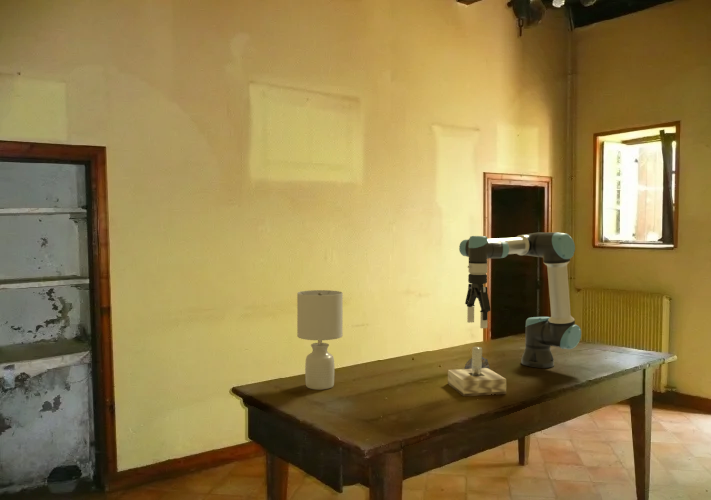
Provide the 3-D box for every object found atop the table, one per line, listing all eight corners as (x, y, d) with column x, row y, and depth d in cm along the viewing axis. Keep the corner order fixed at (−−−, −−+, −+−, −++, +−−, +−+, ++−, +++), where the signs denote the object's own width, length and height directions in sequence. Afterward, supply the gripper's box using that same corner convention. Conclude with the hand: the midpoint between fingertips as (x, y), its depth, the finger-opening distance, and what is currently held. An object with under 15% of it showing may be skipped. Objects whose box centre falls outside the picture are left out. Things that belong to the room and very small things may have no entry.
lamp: (307, 395, 227) (307, 296, 226) (290, 383, 244) (290, 291, 242) (350, 389, 236) (350, 294, 234) (330, 378, 253) (330, 289, 251)
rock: (491, 366, 263) (485, 349, 260) (489, 382, 255) (483, 365, 251) (468, 369, 268) (462, 352, 264) (466, 384, 260) (459, 367, 256)
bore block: (487, 381, 248) (487, 368, 247) (506, 393, 230) (506, 379, 230) (447, 383, 244) (447, 369, 244) (463, 396, 227) (463, 381, 226)
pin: (478, 384, 239) (479, 346, 239) (482, 387, 236) (483, 348, 235) (469, 385, 239) (470, 346, 238) (473, 387, 235) (474, 348, 234)
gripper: (457, 271, 247) (457, 320, 248) (481, 276, 222) (480, 331, 223) (474, 271, 248) (473, 319, 249) (499, 276, 224) (498, 330, 225)
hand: (477, 325), depth 236 cm, fingers open, 13 cm apart
